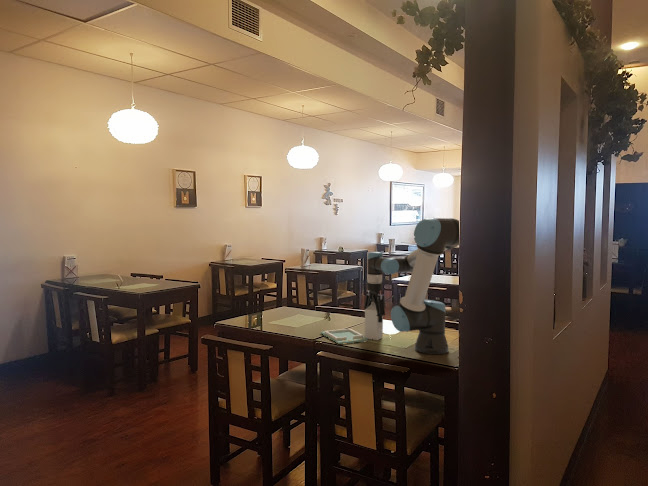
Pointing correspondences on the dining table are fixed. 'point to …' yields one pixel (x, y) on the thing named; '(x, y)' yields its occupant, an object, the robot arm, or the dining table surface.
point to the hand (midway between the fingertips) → (373, 326)
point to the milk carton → (372, 323)
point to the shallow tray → (344, 336)
